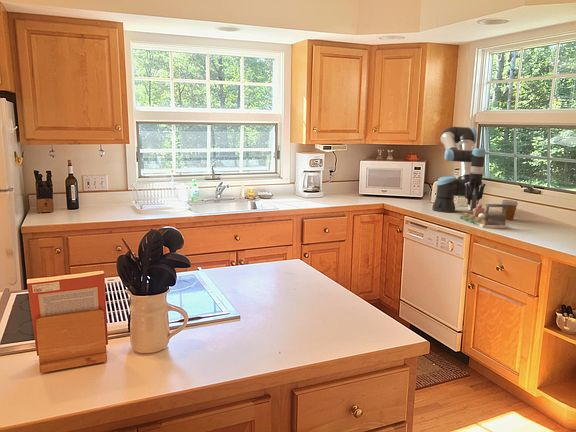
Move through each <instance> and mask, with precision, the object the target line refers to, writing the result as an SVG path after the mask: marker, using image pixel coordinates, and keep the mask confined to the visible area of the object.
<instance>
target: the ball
mask: <svg viewBox="0 0 576 432" xmlns="http://www.w3.org/2000/svg"><path fill="white" fill-rule="evenodd" d="M478 217H479V218H481V219H484V218H485V215H484V214H483V213H480V214H479V215H478Z"/></svg>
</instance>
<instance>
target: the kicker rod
mask: <svg viewBox="0 0 576 432" xmlns="http://www.w3.org/2000/svg"><path fill="white" fill-rule="evenodd" d="M471 200H472V206H471V210H469V211H470V212H473V214H472V215H474V216H476V217H478V215H479V214H480V213H483V214H484V213H485V211H486V208H483V204H482V203H478V205H477V208H476V202H477V195H472V198H471Z"/></svg>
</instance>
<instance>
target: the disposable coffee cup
mask: <svg viewBox="0 0 576 432" xmlns="http://www.w3.org/2000/svg"><path fill="white" fill-rule="evenodd" d="M501 204H507V205H508V207H507V212H506V219H505V221H513V220H514V217H515V214H516V211H517V206H518V205H519V203H518V201H517V200H513V199H502V201H501ZM501 212H502V214H501V215H503V213H504V207H501Z"/></svg>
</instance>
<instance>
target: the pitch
mask: <svg viewBox="0 0 576 432" xmlns="http://www.w3.org/2000/svg"><path fill="white" fill-rule="evenodd" d="M502 207H504V213H503V215H502V214H489V211H490V208H502ZM507 207H508V205H507V204H502V203H501V204H498V203H486V204H485V212H484V215H485V218H484V219H481V218H479V217H476V216H474V215H473V214H471V213H468V212H465V211H462V215H460V216H459V219H461V220H463V221H465V222H468V223H470V224H472V223H473V224H472V225H475V226H478V227H479V228H482V229H483V228H484V229H486V228H489V229H490V228H492V229H493V228H494V229H496V228H497V229H499V228H502V229H503V228H504V229H505V228H508V224H506V223H507V222H506V221H507V220H505V219H506V212H507Z"/></svg>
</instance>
